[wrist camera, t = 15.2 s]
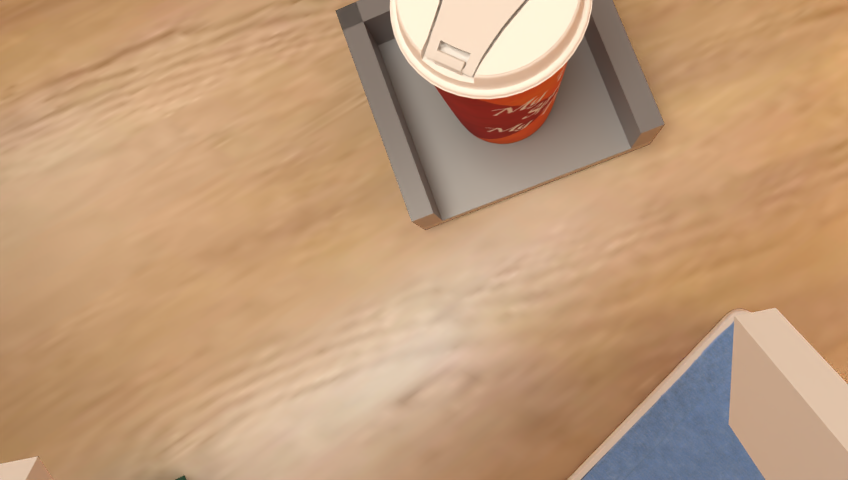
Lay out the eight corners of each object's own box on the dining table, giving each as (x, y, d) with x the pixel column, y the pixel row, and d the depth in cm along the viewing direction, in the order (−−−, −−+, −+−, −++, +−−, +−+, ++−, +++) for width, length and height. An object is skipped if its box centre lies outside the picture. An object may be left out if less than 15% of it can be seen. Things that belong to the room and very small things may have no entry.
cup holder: (356, 41, 41) (335, 10, 37) (569, -49, 40) (573, -92, 35) (425, 229, 40) (411, 221, 35) (649, 144, 38) (664, 124, 33)
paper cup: (534, 186, 38) (536, 123, 24) (412, 129, 39) (347, 38, 25) (598, 59, 38) (635, -76, 24) (473, 6, 39) (441, -151, 25)
